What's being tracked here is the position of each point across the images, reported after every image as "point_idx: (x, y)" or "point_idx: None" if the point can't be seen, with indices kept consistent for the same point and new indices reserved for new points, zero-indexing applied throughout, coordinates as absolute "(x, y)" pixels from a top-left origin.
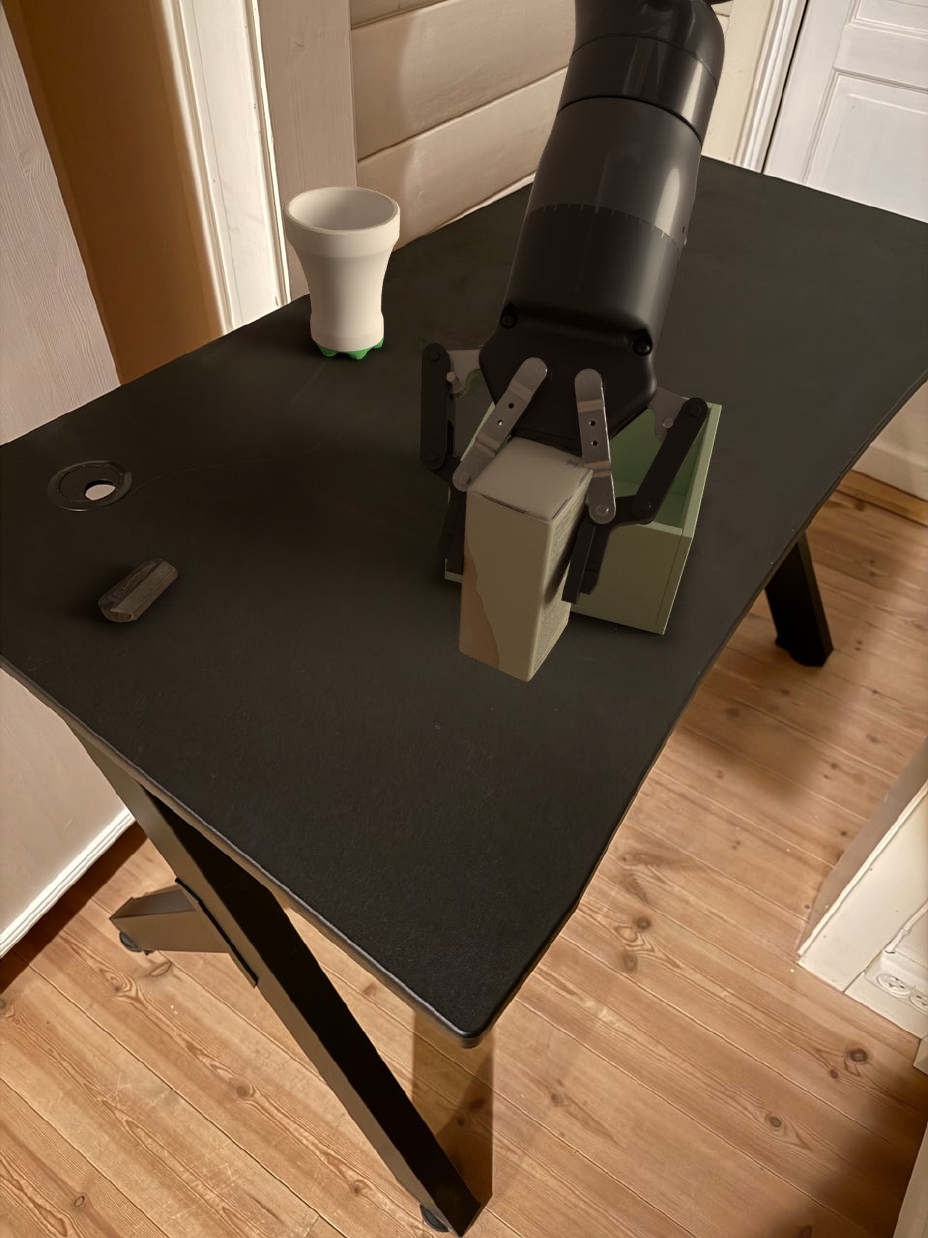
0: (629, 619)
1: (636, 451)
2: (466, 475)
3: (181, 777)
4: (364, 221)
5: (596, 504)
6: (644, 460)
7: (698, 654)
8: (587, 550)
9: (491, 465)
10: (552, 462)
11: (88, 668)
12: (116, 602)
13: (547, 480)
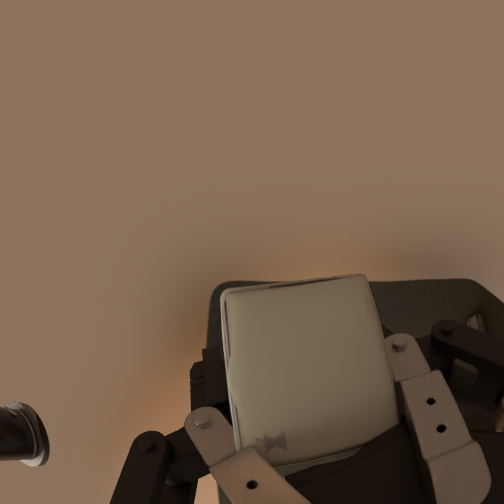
0: None
1: None
2: (400, 343)
3: (390, 287)
4: None
5: (214, 424)
6: None
7: None
8: (205, 381)
9: (379, 340)
10: (306, 421)
11: (455, 295)
12: (476, 319)
13: (283, 371)
